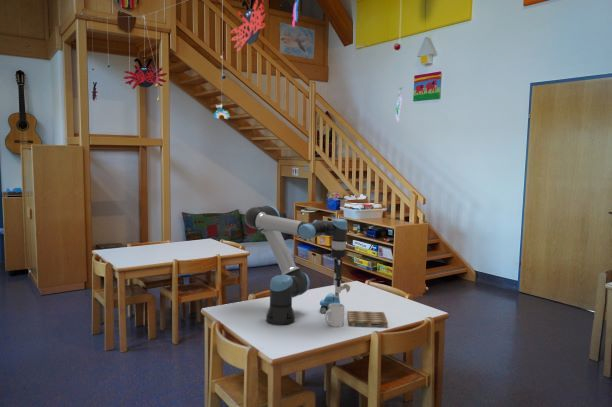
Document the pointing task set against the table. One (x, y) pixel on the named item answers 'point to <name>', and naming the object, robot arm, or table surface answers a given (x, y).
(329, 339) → the table surface
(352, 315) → the wooden pallet
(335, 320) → the cup
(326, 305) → the toy excavator
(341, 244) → the robot arm
